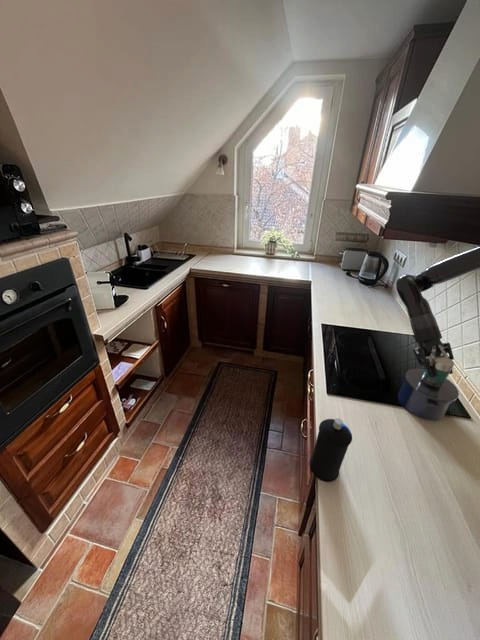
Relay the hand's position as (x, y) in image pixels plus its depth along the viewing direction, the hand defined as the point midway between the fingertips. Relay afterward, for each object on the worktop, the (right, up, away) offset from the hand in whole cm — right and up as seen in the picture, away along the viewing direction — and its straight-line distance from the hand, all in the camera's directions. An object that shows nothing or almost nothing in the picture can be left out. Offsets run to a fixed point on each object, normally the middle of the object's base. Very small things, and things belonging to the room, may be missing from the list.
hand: (441, 375), depth 86 cm
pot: (-1, -13, +9) cm, 16 cm away
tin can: (-1, -3, +4) cm, 5 cm away
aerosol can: (-44, -24, -12) cm, 52 cm away
